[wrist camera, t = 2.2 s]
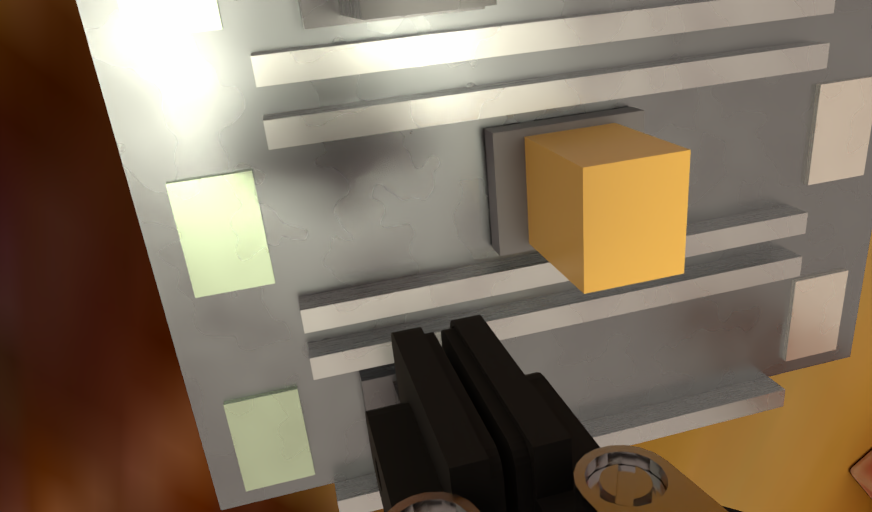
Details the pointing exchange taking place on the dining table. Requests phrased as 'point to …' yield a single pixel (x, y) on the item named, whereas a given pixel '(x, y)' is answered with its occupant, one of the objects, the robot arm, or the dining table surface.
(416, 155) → the breaker board
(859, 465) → the control panel
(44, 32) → the dining table surface
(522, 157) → the block
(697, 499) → the robot arm
